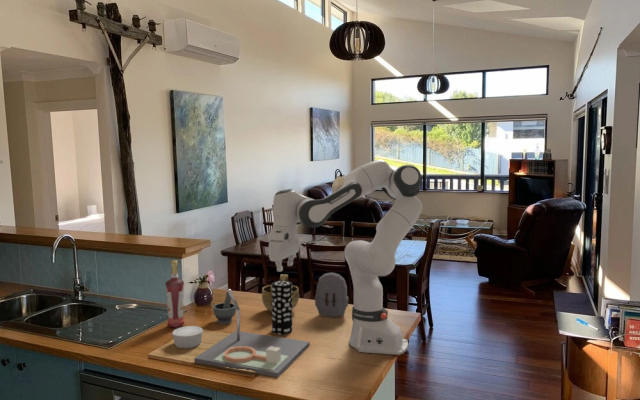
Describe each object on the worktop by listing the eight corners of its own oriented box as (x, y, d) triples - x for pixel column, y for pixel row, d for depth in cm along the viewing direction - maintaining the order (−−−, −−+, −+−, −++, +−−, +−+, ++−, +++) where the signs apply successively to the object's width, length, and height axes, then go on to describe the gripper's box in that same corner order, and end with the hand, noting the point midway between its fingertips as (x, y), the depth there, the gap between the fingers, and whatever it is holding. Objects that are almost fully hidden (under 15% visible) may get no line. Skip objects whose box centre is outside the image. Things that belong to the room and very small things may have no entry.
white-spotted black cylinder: (289, 335, 193) (289, 286, 191) (269, 333, 195) (269, 285, 193) (294, 328, 201) (294, 281, 200) (275, 326, 203) (275, 280, 201)
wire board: (309, 345, 183) (309, 341, 183) (277, 377, 157) (277, 372, 157) (235, 334, 194) (235, 330, 194) (194, 362, 168) (194, 357, 168)
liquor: (185, 328, 201) (183, 262, 198) (166, 330, 199) (164, 263, 196) (184, 322, 208) (183, 258, 205) (166, 324, 206) (165, 259, 203)
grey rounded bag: (348, 314, 219) (349, 271, 217) (347, 320, 211) (347, 275, 209) (316, 312, 221) (316, 269, 219) (313, 318, 213) (313, 274, 211)
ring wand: (285, 355, 170) (285, 343, 169) (271, 368, 160) (271, 355, 159) (234, 347, 177) (234, 335, 176) (218, 359, 167) (217, 346, 166)
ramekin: (171, 340, 188) (171, 327, 187) (201, 337, 192) (200, 324, 191) (173, 351, 177) (173, 337, 177) (204, 347, 181) (204, 334, 181)
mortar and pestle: (229, 326, 203) (229, 298, 202) (209, 324, 206) (209, 296, 204) (240, 317, 214) (240, 291, 213) (221, 315, 216) (221, 289, 215)
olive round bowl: (268, 303, 235) (268, 273, 233) (302, 305, 232) (302, 274, 231) (256, 318, 213) (255, 285, 211) (293, 320, 210) (293, 287, 209)
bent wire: (241, 341, 185) (240, 284, 183) (230, 348, 178) (230, 289, 176) (237, 340, 186) (237, 283, 184) (227, 347, 179) (226, 289, 176)
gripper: (288, 228, 193) (288, 262, 195) (265, 236, 174) (265, 273, 176) (303, 228, 191) (303, 263, 192) (281, 237, 172) (281, 275, 173)
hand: (285, 268), depth 184 cm, fingers open, 8 cm apart
